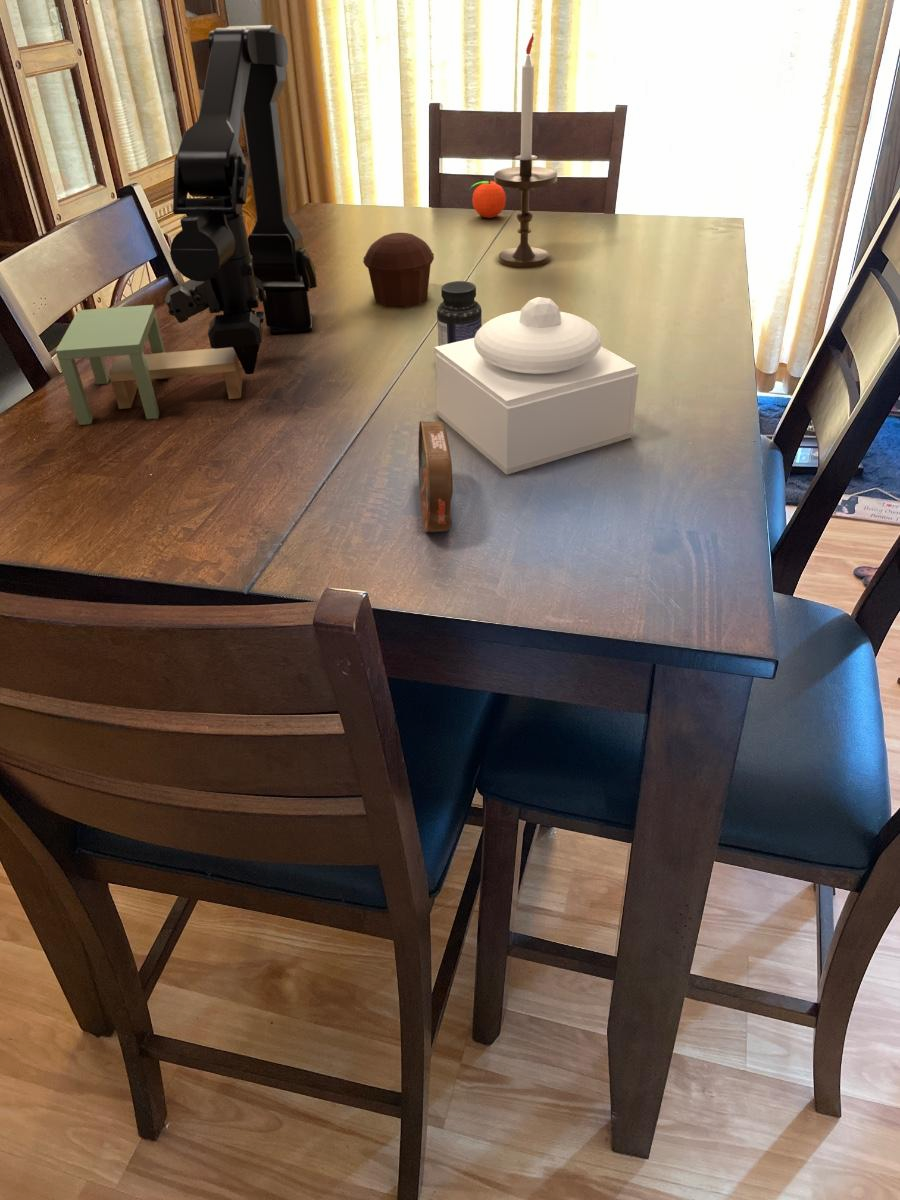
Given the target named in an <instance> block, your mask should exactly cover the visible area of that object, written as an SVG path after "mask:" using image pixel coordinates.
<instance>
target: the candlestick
mask: <svg viewBox="0 0 900 1200" xmlns="http://www.w3.org/2000/svg"><path fill="white" fill-rule="evenodd" d="M534 40H535V37H534V32H532V33H531V37H530V39H529V40H528V43H527V46H526V49H525V51H526V56H525V57H526V59H525V62H524V65H522V66H521V113H520V114H521V115H520V124H521V125H520V154H519V155H515V156H514V159H515V160H518V161H519V166H514V167H507V168H502V169H500V170H497V171H495V172H494V175H493V181H494V182H495V183H496V184H498V185H500V186H501V187H504V188H510V189H511V188H512V189H517V190H518V191H520V193H521V194H520V197H521V198H520V205H521V206H520V212H519V213H517V214H516V220H517V221H518V222H519V228H517V233H518V234H520V242H519V244H518V245H517V247H510V248H506V249H504V250H502V251H500V252H499V253H498V261H499V263H500V264H502V265H504V266H507V267H511V268H519V269H520V268H521V269H522V268H535V267H540V266H543V265H545V264H547V263H548V262H549V260H550V259H549V258H550V257H549V256H550V254H549V252H548V251H547V250H545V249H543V248H540V247H539V248H538V247H532V246H530V244H529V234H530V233H532V229H531V228H530V222H531V221H532V219H533V213H531V212H530V209H529V207H530V191H532V190H533V189H536V188H537V189H538V188H545V187H548V186H553V185H554V184H556V183H557V182H558V172H557V171H556V170H554V169H552V168H547V167H542V166H533V160H537V159H538V158H539V157H538V156H537V155H534V154H533V116H534V111H533V110H534V81H535V80H534V79H535V77H534V75H535V66H534V65H532V60H531V52H532V48H533V42H534Z"/></svg>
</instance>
